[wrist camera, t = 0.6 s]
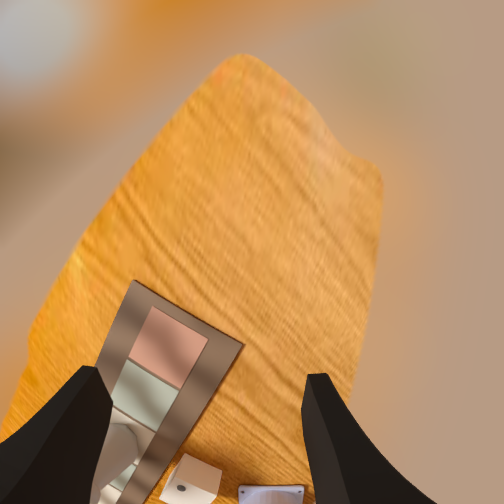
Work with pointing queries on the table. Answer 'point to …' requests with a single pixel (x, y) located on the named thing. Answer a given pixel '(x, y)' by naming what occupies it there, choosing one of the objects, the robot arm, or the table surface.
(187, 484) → the die
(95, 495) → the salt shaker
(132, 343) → the game board
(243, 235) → the table surface
